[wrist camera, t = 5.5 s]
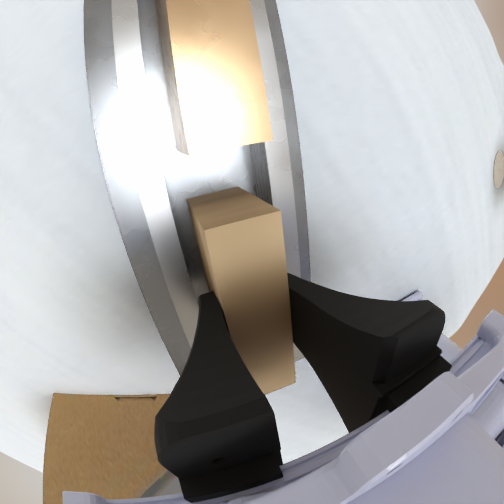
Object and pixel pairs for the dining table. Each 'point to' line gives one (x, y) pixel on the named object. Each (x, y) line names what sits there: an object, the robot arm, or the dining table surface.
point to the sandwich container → (104, 448)
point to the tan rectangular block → (248, 279)
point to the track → (176, 166)
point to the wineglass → (498, 169)
